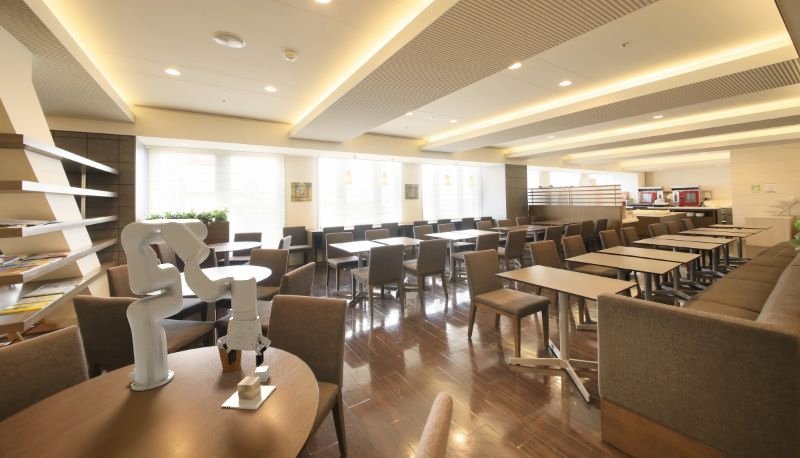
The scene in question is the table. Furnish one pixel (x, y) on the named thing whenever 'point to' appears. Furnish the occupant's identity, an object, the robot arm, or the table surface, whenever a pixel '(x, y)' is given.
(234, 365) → the disposable coffee cup
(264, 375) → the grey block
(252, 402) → the tray
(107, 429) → the table surface
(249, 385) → the oak cube
